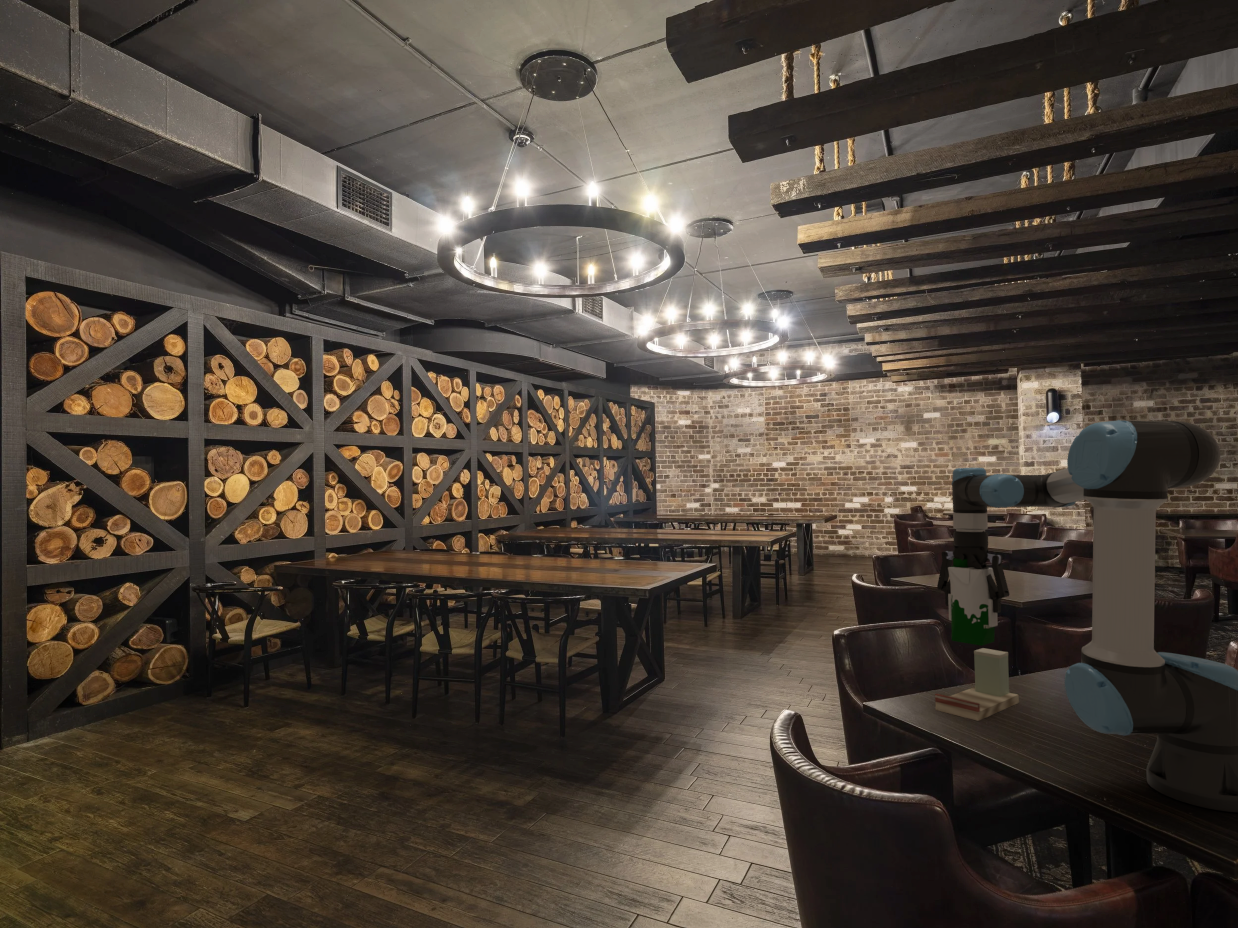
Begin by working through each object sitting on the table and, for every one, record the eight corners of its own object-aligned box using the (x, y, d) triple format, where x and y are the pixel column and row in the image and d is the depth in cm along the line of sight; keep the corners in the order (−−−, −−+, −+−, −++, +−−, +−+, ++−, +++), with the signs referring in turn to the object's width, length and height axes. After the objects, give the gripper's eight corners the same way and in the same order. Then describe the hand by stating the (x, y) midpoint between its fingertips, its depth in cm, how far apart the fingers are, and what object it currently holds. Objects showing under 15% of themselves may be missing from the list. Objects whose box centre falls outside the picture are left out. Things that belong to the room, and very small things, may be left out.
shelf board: (978, 720, 152) (977, 704, 152) (935, 709, 160) (935, 693, 160) (1018, 702, 166) (1018, 687, 166) (977, 693, 173) (977, 678, 174)
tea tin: (1000, 696, 164) (999, 655, 164) (975, 691, 169) (973, 650, 169) (1009, 693, 167) (1008, 652, 167) (984, 687, 172) (982, 647, 172)
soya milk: (962, 635, 167) (960, 556, 168) (1000, 641, 160) (998, 559, 161) (945, 640, 162) (944, 558, 163) (984, 647, 155) (982, 561, 156)
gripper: (1025, 531, 156) (1027, 628, 155) (936, 528, 173) (938, 614, 172) (1009, 533, 151) (1012, 632, 150) (920, 528, 169) (922, 617, 168)
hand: (972, 622), depth 161 cm, fingers closed on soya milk, 9 cm apart
